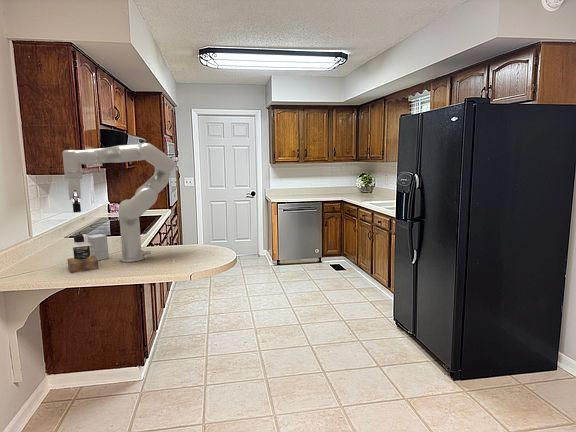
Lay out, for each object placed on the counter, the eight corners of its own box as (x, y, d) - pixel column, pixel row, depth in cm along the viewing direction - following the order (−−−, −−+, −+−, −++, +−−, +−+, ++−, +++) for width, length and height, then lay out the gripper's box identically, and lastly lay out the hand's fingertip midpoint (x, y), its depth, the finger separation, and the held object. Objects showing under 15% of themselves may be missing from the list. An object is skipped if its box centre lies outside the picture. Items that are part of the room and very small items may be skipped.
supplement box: (102, 256, 220) (100, 233, 218) (109, 258, 216) (107, 235, 214) (88, 259, 215) (86, 235, 213) (95, 261, 210) (93, 237, 208)
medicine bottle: (74, 261, 192) (71, 236, 191) (75, 258, 199) (72, 234, 197) (90, 259, 195) (88, 235, 194) (91, 256, 202) (88, 232, 200)
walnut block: (95, 264, 205) (94, 255, 204) (98, 270, 195) (97, 260, 194) (68, 268, 199) (67, 258, 198) (70, 274, 189) (69, 264, 188)
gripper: (64, 175, 200) (68, 209, 203) (64, 176, 185) (68, 213, 188) (81, 174, 204) (85, 208, 206) (82, 176, 189) (86, 212, 191)
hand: (77, 211), depth 197 cm, fingers open, 9 cm apart
